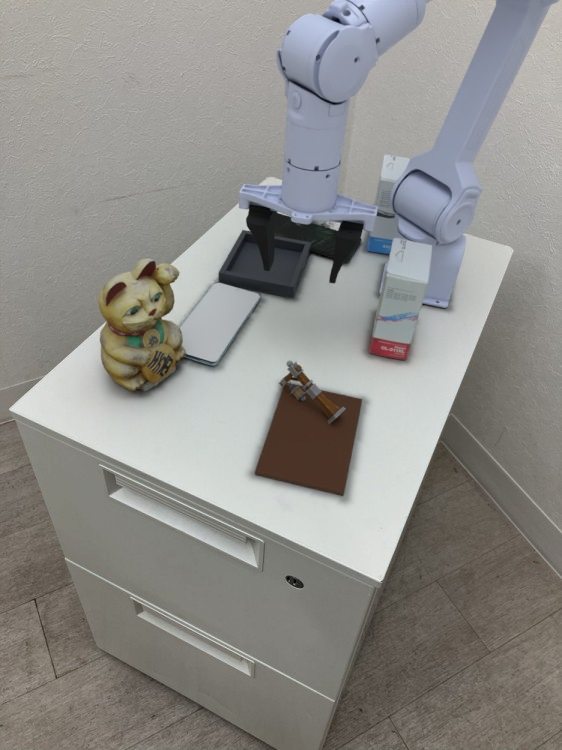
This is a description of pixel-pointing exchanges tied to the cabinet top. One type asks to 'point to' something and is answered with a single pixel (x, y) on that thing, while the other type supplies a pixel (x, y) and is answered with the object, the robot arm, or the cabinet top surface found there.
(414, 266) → the ink box
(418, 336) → the cabinet top surface
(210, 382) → the cabinet top surface
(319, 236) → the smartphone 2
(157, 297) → the decorative figurine
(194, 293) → the cabinet top surface
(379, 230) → the ink box
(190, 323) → the smartphone
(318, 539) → the cabinet top surface
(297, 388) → the brown grey jointed column
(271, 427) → the desk pad
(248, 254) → the tray
